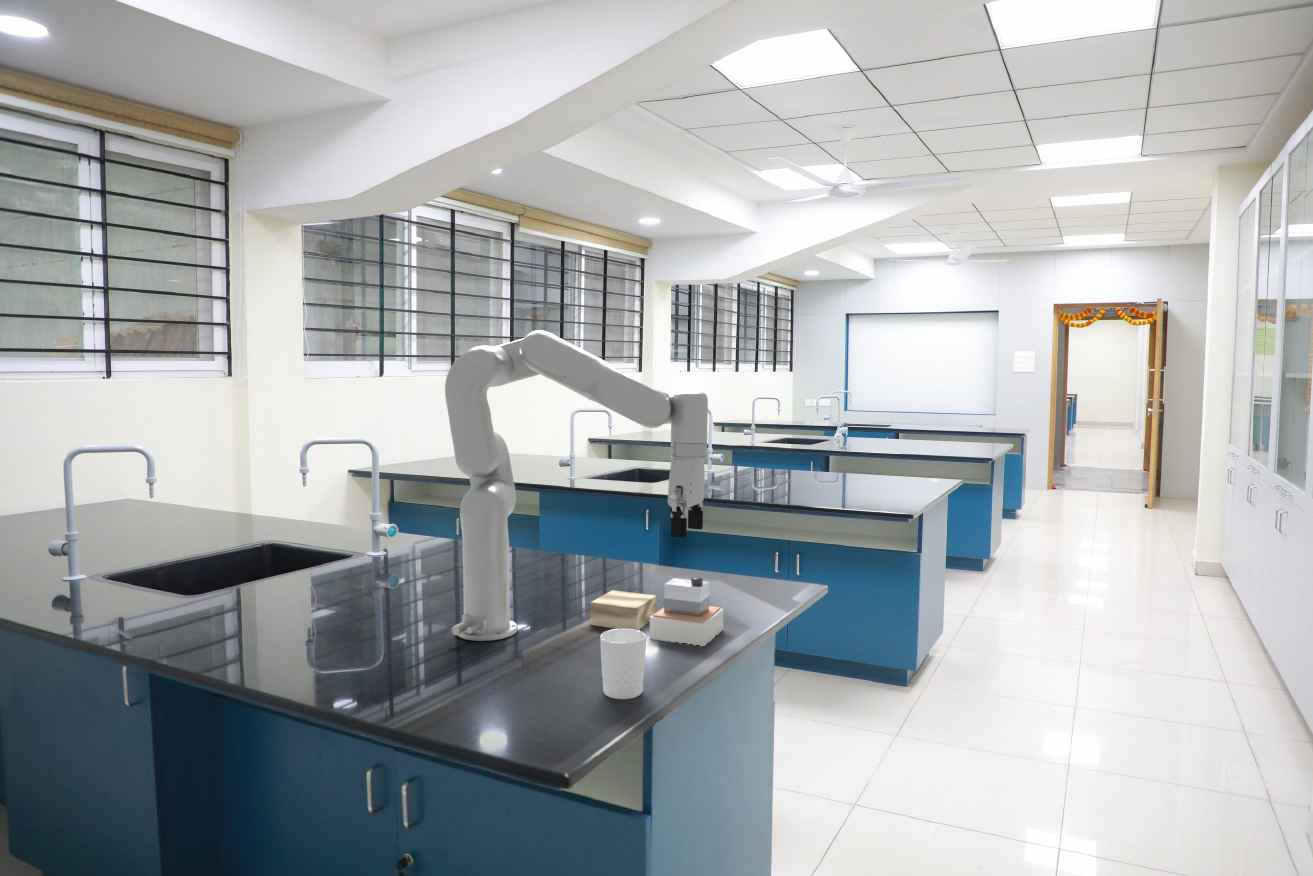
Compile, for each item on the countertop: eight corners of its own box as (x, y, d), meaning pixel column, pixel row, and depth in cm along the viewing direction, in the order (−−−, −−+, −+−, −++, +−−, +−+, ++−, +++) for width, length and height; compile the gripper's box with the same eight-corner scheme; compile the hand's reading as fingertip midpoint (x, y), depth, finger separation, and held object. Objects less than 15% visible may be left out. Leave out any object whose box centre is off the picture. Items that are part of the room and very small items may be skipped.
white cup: (621, 680, 150) (621, 625, 149) (655, 691, 145) (655, 634, 144) (590, 693, 144) (590, 636, 143) (624, 705, 139) (625, 646, 138)
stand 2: (704, 646, 168) (704, 622, 168) (649, 639, 173) (649, 615, 172) (722, 629, 179) (723, 607, 179) (670, 622, 184) (671, 600, 183)
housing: (664, 612, 174) (664, 578, 174) (673, 605, 179) (674, 572, 179) (700, 616, 171) (700, 582, 171) (708, 609, 176) (709, 576, 176)
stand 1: (636, 631, 177) (636, 608, 177) (590, 624, 182) (590, 602, 181) (656, 617, 188) (656, 595, 187) (612, 611, 192) (612, 590, 191)
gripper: (686, 446, 182) (685, 524, 183) (655, 453, 166) (654, 538, 167) (719, 448, 179) (717, 527, 181) (691, 455, 163) (689, 542, 165)
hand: (687, 532), depth 174 cm, fingers open, 9 cm apart
